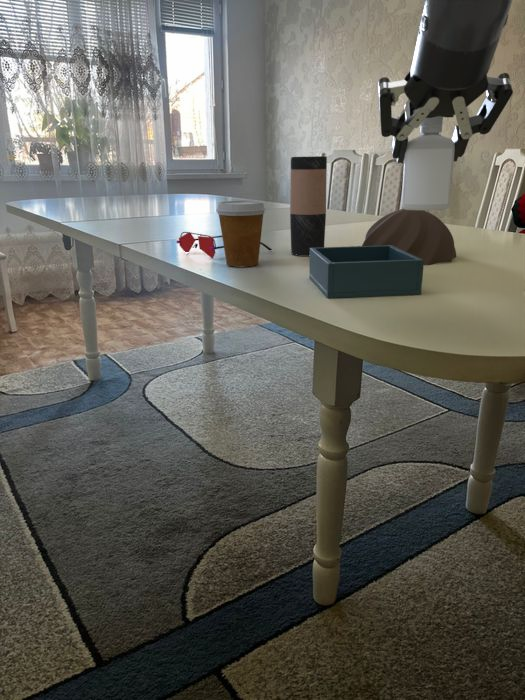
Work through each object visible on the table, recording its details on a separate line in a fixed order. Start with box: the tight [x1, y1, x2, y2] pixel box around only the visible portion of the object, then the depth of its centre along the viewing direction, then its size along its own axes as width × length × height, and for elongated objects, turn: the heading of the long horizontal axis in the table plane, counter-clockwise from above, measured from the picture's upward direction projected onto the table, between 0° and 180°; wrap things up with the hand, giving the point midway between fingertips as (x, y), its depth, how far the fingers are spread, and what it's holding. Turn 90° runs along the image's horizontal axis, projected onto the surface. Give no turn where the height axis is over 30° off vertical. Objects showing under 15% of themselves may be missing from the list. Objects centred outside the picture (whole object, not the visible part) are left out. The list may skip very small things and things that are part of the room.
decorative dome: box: [361, 208, 457, 266], centre depth 112 cm, size 19×20×10 cm
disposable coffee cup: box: [215, 200, 267, 267], centre depth 106 cm, size 10×10×12 cm
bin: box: [308, 245, 425, 299], centre depth 88 cm, size 15×15×5 cm
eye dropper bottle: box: [400, 116, 455, 211], centre depth 64 cm, size 4×6×12 cm
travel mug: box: [289, 155, 328, 255], centre depth 115 cm, size 8×8×20 cm
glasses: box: [175, 231, 273, 259], centre depth 121 cm, size 14×16×5 cm
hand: (425, 156), depth 66 cm, fingers closed on eye dropper bottle, 5 cm apart
